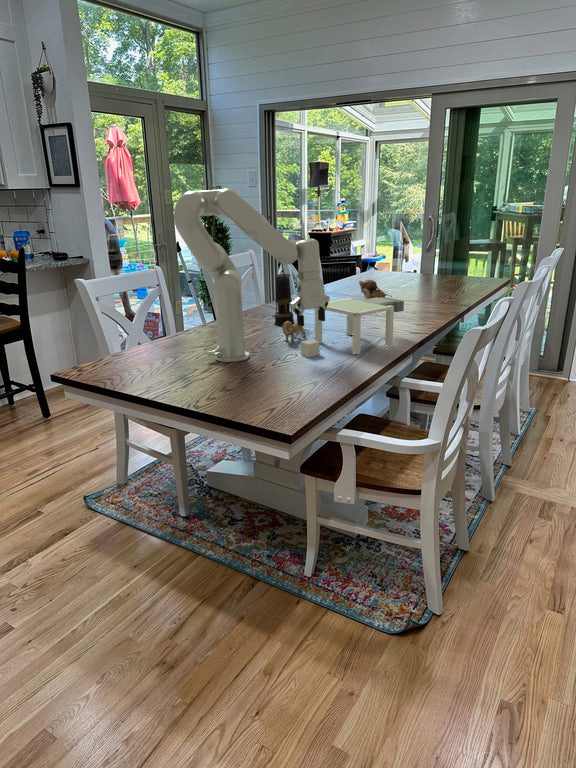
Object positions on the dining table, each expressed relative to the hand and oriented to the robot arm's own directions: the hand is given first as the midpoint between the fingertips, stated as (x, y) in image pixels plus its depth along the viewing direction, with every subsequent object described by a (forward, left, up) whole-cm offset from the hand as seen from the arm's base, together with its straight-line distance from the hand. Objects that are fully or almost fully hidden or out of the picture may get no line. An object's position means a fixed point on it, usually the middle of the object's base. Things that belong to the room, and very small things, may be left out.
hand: (311, 323), depth 196 cm
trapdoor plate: (+28, 0, -1) cm, 28 cm away
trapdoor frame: (+21, 0, -12) cm, 25 cm away
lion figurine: (+7, +21, -12) cm, 25 cm away
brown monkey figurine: (+89, +59, -12) cm, 108 cm away
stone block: (-1, 0, -12) cm, 12 cm away
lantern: (+21, +47, -12) cm, 53 cm away
